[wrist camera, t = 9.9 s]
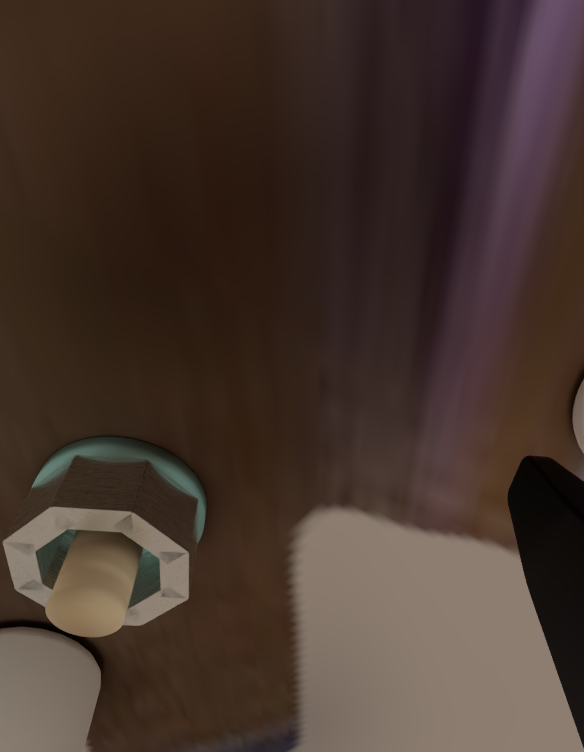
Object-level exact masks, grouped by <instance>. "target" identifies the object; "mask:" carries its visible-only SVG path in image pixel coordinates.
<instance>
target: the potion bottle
mask: <svg viewBox="0 0 584 752" xmlns="http://www.w3.org/2000/svg"><path fill="white" fill-rule="evenodd" d="M100 686H101V671H100V668H99V666H98V664H97V662H96V661H95V659H94V657H93V656H92V654H91V653H90V652H89V651H88V650H87V649H85V648H84V647H83V646H82V645H81V644H80V643H78V642H76V641H74V640H72V639H70V638H68V637H66V636H64V635H62V634H60V633H56V632H52V631H49V630H45V629H40V628H30V627H12V628H1V629H0V752H83V749H84V746H85V742H86V739H87V735H88V731H89V728H90V724H91V720H92V717H93V713H94V709H95V706H96V702H97V698H98V695H99V691H100Z"/></svg>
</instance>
